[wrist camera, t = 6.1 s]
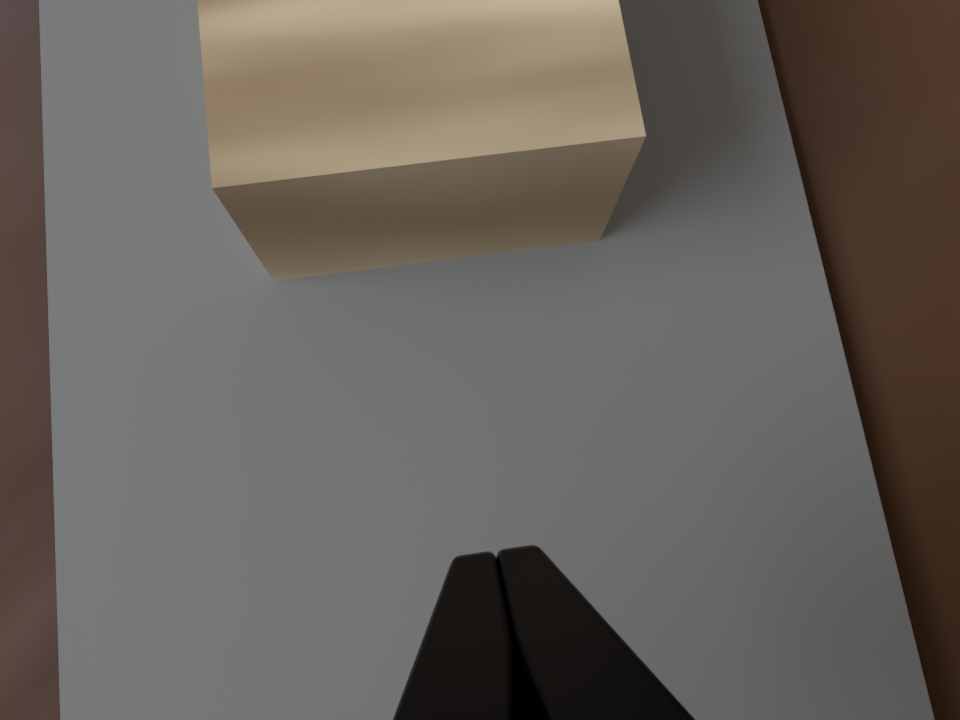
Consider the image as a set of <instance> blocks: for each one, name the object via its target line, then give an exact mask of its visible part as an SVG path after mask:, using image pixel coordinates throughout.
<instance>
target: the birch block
mask: <svg viewBox="0 0 960 720" xmlns="http://www.w3.org/2000/svg"><path fill="white" fill-rule="evenodd" d="M197 4H198V17H199V30H200V42H201V55H202V68H203V81H204V93H205V106H206V119H207V131H208V144H209V157H210V170H211V182H212V189H213V191H214V192H215V194H216V195H217V197H218V198H219V200H220V201H221V203H222V204H223V206H224V207H225V209H226V210H227V212H228V213H229V215H230V216H231V218H232V219H233V221H234V222H235V224H236V225H237V227H238V228H239V230H240V231H241V233H242V234H243V236H244V237H245V239H246V240H247V242H248V243H249V245H250V246H251V248H252V249H253V251H254V252H255V254H256V255H257V257H258V258H259V260H260V261H261V263H262V265H263V266H264V268H265V269H266V271H267V272H268V274H269V275H270V277H271V278H272V280H273V281H281V280H289V279H297V278H305V277H313V276H321V275H329V274H337V273H345V272H352V271H360V270H368V269H376V268H384V267H392V266H400V265H408V264H416V263H424V262H431V261H439V260H447V259H455V258H463V257H471V256H479V255H487V254H495V253H503V252H510V251H518V250H526V249H534V248H542V247H550V246H558V245H566V244H574V243H582V242H589V241H597V240H600V239H601V237H602V235H603V232H604V230H605V228H606V226H607V223H608V221H609V219H610V217H611V214H612V212H613V210H614V207H615V205H616V203H617V201H618V198H619V196H620V194H621V192H622V189H623V187H624V185H625V183H626V180H627V178H628V176H629V174H630V171H631V169H632V167H633V165H634V162H635V160H636V158H637V156H638V153H639V151H640V149H641V147H642V144H643V142H644V140H645V137H646V133H645V128H644V123H643V118H642V113H641V108H640V103H639V98H638V93H637V88H636V83H635V79H634V74H633V69H632V64H631V59H630V54H629V49H628V44H627V39H626V34H625V29H624V24H623V19H622V14H621V9H620V5H619V0H197Z"/></svg>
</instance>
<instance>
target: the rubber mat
mask: <svg viewBox="0 0 960 720" xmlns="http://www.w3.org/2000/svg"><path fill="white" fill-rule="evenodd" d="M619 5H620V9H621V14H622V19H623V24H624V29H625V34H626V39H627V44H628V49H629V54H630V59H631V64H632V69H633V74H634V79H635V83H636V88H637V93H638V98H639V103H640V108H641V113H642V118H643V123H644V128H645V133H646V137H645V140H644V142H643V144H642V147H641V149H640V151H639V153H638V156H637V158H636V160H635V162H634V165H633V167H632V169H631V171H630V174H629V176H628V178H627V180H626V183H625V185H624V187H623V189H622V192H621V194H620V196H619V198H618V201H617V203H616V205H615V207H614V210H613V212H612V214H611V217H610V219H609V221H608V223H607V226H606V228H605V230H604V232H603V235H602V237H601V239H600V240H597V241H589V242H582V243H574V244H566V245H558V246H550V247H542V248H534V249H526V250H518V251H510V252H503V253H495V254H487V255H479V256H471V257H463V258H455V259H447V260H439V261H431V262H424V263H416V264H408V265H400V266H392V267H384V268H376V269H368V270H360V271H352V272H345V273H337V274H329V275H321V276H313V277H305V278H297V279H289V280H281V281H273V280H272V278H271V277H270V275H269V274H268V272H267V271H266V269H265V268H264V266H263V265H262V263H261V261H260V260H259V258H258V257H257V255H256V254H255V252H254V251H253V249H252V248H251V246H250V245H249V243H248V242H247V240H246V239H245V237H244V236H243V234H242V233H241V231H240V230H239V228H238V227H237V225H236V224H235V222H234V221H233V219H232V218H231V216H230V215H229V213H228V212H227V210H226V209H225V207H224V206H223V204H222V203H221V201H220V200H219V198H218V197H217V195H216V194H215V192H214V191H213V189H212V182H211V170H210V157H209V144H208V131H207V119H206V106H205V93H204V81H203V68H202V55H201V42H200V30H199V17H198V4H197V0H39V16H40V50H41V83H42V117H43V150H44V184H45V217H46V251H47V285H48V318H49V352H50V385H51V419H52V452H53V486H54V519H55V553H56V586H57V620H58V653H59V687H60V720H393V718H394V715H395V712H396V709H397V707H398V704H399V701H400V699H401V696H402V693H403V691H404V688H405V685H406V683H407V680H408V677H409V674H410V672H411V669H412V666H413V664H414V661H415V658H416V656H417V653H418V650H419V647H420V645H421V642H422V639H423V637H424V634H425V631H426V629H427V626H428V623H429V620H430V618H431V615H432V612H433V610H434V607H435V604H436V602H437V599H438V596H439V594H440V591H441V588H442V585H443V583H444V580H445V577H446V575H447V572H448V569H449V567H450V564H451V562H452V560H453V559H454V558H455V557H456V556H459V555H465V554H472V553H479V552H486V551H490V552H492V553H494V555H495V556H496V558H497V553H498V552H499V551H500V550H502V549H506V548H513V547H520V546H527V545H536V546H538V547H540V548H541V549H542V550H543V551H544V552H545V554H546V555H547V556H548V557H549V558H550V559H551V560H552V561H553V562H554V564H555V565H556V566H557V567H558V568H559V569H560V570H561V571H562V572H563V573H564V575H565V576H566V577H567V578H568V579H569V580H570V581H571V582H572V583H573V585H574V586H575V587H576V588H577V589H578V590H579V591H580V592H581V593H582V595H583V596H584V597H585V598H586V599H587V600H588V601H589V602H590V603H591V605H592V606H593V607H594V608H595V609H596V610H597V611H598V612H599V613H600V614H601V616H602V617H603V618H604V619H605V620H606V621H607V622H608V623H609V624H610V626H611V627H612V628H613V629H614V630H615V631H616V632H617V633H618V634H619V636H620V637H621V638H622V639H623V640H624V641H625V642H626V643H627V644H628V646H629V647H630V648H631V649H632V650H633V651H634V652H635V653H636V654H637V655H638V657H639V658H640V659H641V660H642V661H643V662H644V663H645V664H646V665H647V667H648V668H649V669H650V670H651V671H652V672H653V673H654V674H655V675H656V677H657V678H658V679H659V680H660V681H661V682H662V683H663V684H664V685H665V687H666V688H667V689H668V690H669V691H670V692H671V693H672V694H673V695H674V696H675V698H676V699H677V700H678V701H679V702H680V703H681V704H682V705H683V706H684V708H685V709H686V710H687V711H688V712H689V713H690V714H691V715H692V716H693V718H694V719H695V720H934V715H933V711H932V707H931V703H930V699H929V695H928V691H927V687H926V683H925V679H924V675H923V671H922V667H921V663H920V659H919V655H918V650H917V646H916V642H915V638H914V634H913V630H912V626H911V622H910V618H909V614H908V610H907V606H906V602H905V598H904V594H903V589H902V585H901V581H900V577H899V573H898V569H897V565H896V561H895V557H894V553H893V549H892V545H891V541H890V537H889V533H888V528H887V524H886V520H885V516H884V512H883V508H882V504H881V500H880V496H879V492H878V488H877V484H876V480H875V476H874V472H873V467H872V463H871V459H870V455H869V451H868V447H867V443H866V439H865V435H864V431H863V427H862V423H861V419H860V415H859V411H858V407H857V402H856V398H855V394H854V390H853V386H852V382H851V378H850V374H849V370H848V366H847V362H846V358H845V354H844V350H843V346H842V341H841V337H840V333H839V329H838V325H837V321H836V317H835V313H834V309H833V305H832V301H831V297H830V293H829V289H828V285H827V280H826V276H825V272H824V268H823V264H822V260H821V256H820V252H819V248H818V244H817V240H816V236H815V232H814V228H813V224H812V219H811V215H810V211H809V207H808V203H807V199H806V195H805V191H804V187H803V183H802V179H801V175H800V171H799V167H798V163H797V159H796V154H795V150H794V146H793V142H792V138H791V134H790V130H789V126H788V122H787V118H786V114H785V110H784V106H783V102H782V98H781V93H780V89H779V85H778V81H777V77H776V73H775V69H774V65H773V61H772V57H771V53H770V49H769V45H768V41H767V37H766V32H765V28H764V24H763V20H762V16H761V12H760V8H759V4H758V0H619Z"/></svg>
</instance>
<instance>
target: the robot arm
mask: <svg viewBox="0 0 960 720" xmlns="http://www.w3.org/2000/svg"><path fill="white" fill-rule="evenodd" d="M393 720H695V719H694V718H693V716H692V715H691V714H690V713H689V712H688V711H687V710H686V709H685V708H684V706H683V705H682V704H681V703H680V702H679V701H678V700H677V699H676V698H675V696H674V695H673V694H672V693H671V692H670V691H669V690H668V689H667V688H666V687H665V685H664V684H663V683H662V682H661V681H660V680H659V679H658V678H657V677H656V675H655V674H654V673H653V672H652V671H651V670H650V669H649V668H648V667H647V665H646V664H645V663H644V662H643V661H642V660H641V659H640V658H639V657H638V655H637V654H636V653H635V652H634V651H633V650H632V649H631V648H630V647H629V646H628V644H627V643H626V642H625V641H624V640H623V639H622V638H621V637H620V636H619V634H618V633H617V632H616V631H615V630H614V629H613V628H612V627H611V626H610V624H609V623H608V622H607V621H606V620H605V619H604V618H603V617H602V616H601V614H600V613H599V612H598V611H597V610H596V609H595V608H594V607H593V606H592V605H591V603H590V602H589V601H588V600H587V599H586V598H585V597H584V596H583V595H582V593H581V592H580V591H579V590H578V589H577V588H576V587H575V586H574V585H573V583H572V582H571V581H570V580H569V579H568V578H567V577H566V576H565V575H564V573H563V572H562V571H561V570H560V569H559V568H558V567H557V566H556V565H555V564H554V562H553V561H552V560H551V559H550V558H549V557H548V556H547V555H546V554H545V552H544V551H543V550H542V549H541V548H540V547H538V546H536V545H527V546H520V547H513V548H506V549H502V550H500V551H499V552H498V553H497V558H496V556H495V555H494V553H492V552H490V551H486V552H479V553H472V554H465V555H459V556H456V557H455V558H454V559H453V560H452V562H451V564H450V567H449V569H448V572H447V575H446V577H445V580H444V583H443V585H442V588H441V591H440V594H439V596H438V599H437V602H436V604H435V607H434V610H433V612H432V615H431V618H430V620H429V623H428V626H427V629H426V631H425V634H424V637H423V639H422V642H421V645H420V647H419V650H418V653H417V656H416V658H415V661H414V664H413V666H412V669H411V672H410V674H409V677H408V680H407V683H406V685H405V688H404V691H403V693H402V696H401V699H400V701H399V704H398V707H397V709H396V712H395V715H394V718H393Z"/></svg>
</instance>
